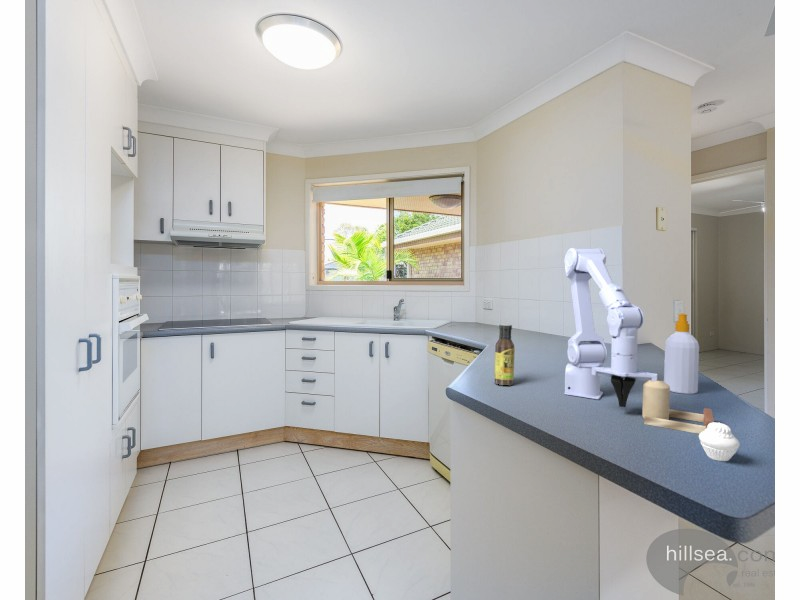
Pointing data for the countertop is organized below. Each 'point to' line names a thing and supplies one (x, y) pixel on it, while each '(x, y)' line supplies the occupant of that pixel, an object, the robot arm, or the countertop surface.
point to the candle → (656, 399)
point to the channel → (682, 426)
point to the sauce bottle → (504, 357)
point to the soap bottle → (681, 359)
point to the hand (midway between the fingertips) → (622, 405)
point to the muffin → (718, 441)
